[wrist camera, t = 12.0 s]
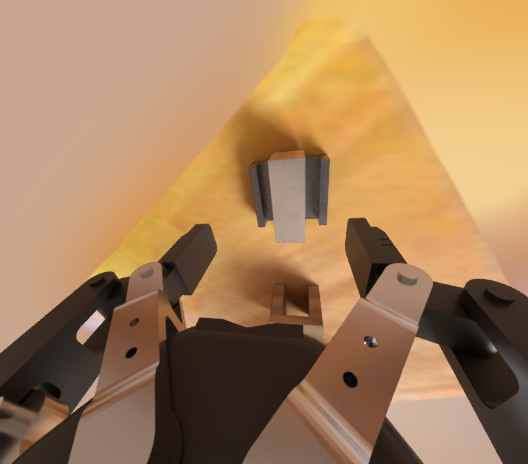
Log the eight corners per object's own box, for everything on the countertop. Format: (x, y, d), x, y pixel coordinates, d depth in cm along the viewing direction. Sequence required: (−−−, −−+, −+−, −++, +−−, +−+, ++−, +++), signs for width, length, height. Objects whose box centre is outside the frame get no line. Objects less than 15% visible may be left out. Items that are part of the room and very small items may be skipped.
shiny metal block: (304, 224, 29) (305, 242, 25) (279, 224, 30) (275, 242, 26) (304, 149, 24) (305, 157, 20) (273, 152, 24) (267, 161, 20)
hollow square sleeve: (317, 315, 43) (321, 356, 36) (278, 313, 45) (274, 351, 38) (318, 285, 38) (323, 326, 31) (274, 284, 39) (269, 322, 32)
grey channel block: (324, 215, 29) (326, 224, 27) (261, 217, 31) (258, 227, 29) (326, 154, 24) (329, 159, 22) (253, 162, 27) (248, 167, 24)
